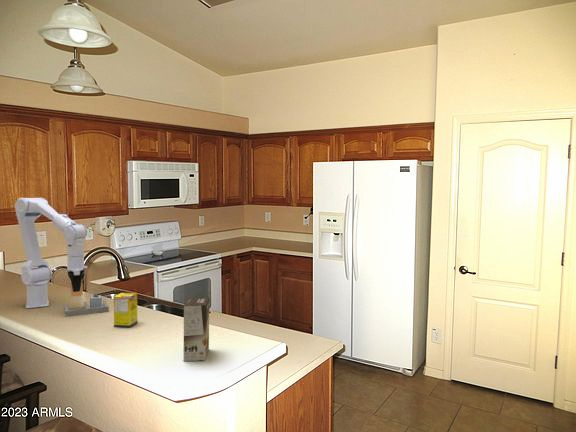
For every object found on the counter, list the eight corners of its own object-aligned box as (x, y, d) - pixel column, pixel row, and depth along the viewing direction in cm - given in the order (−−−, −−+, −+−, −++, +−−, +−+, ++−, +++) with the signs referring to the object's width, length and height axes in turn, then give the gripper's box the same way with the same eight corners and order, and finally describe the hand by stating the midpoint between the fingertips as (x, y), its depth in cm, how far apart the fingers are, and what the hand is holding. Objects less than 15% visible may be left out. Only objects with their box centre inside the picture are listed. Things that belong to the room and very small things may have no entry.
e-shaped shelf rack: (64, 309, 167) (64, 304, 167) (105, 304, 174) (105, 300, 174) (65, 316, 158) (65, 311, 157) (108, 311, 165) (108, 306, 165)
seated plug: (90, 308, 169) (89, 293, 169) (100, 307, 171) (100, 292, 170) (90, 311, 165) (90, 296, 165) (101, 309, 167) (101, 294, 167)
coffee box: (206, 361, 119) (206, 305, 118) (183, 361, 118) (183, 305, 117) (209, 348, 128) (209, 296, 127) (188, 349, 127) (188, 297, 126)
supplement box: (137, 322, 152) (137, 292, 151) (129, 328, 146) (129, 297, 145) (122, 321, 152) (121, 292, 152) (113, 327, 147) (113, 296, 146)
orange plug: (70, 294, 165) (70, 279, 165) (82, 293, 167) (81, 278, 167) (71, 296, 162) (71, 281, 161) (82, 295, 164) (82, 280, 163)
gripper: (88, 257, 159) (88, 293, 160) (85, 252, 172) (86, 285, 172) (67, 258, 156) (68, 295, 156) (66, 253, 168) (66, 287, 169)
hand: (76, 290), depth 164 cm, fingers closed on orange plug, 4 cm apart
